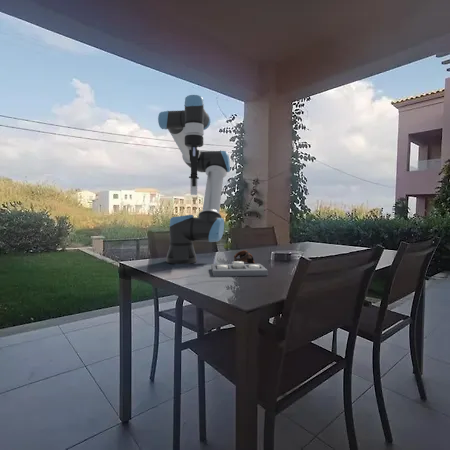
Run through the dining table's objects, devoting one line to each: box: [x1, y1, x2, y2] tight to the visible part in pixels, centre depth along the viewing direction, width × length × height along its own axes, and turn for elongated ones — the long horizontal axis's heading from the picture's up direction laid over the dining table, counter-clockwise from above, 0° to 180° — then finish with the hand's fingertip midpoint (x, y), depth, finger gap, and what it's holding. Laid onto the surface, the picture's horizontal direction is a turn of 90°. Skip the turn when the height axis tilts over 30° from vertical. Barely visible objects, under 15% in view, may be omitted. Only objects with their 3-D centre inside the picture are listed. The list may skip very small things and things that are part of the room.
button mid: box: [232, 261, 245, 269], centre depth 123 cm, size 4×4×2 cm
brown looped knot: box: [233, 249, 256, 264], centre depth 144 cm, size 12×10×8 cm
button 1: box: [217, 265, 228, 269], centre depth 122 cm, size 4×4×2 cm
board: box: [210, 263, 269, 277], centre depth 123 cm, size 14×21×3 cm, turn 96°
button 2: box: [249, 265, 260, 269], centre depth 124 cm, size 4×4×2 cm
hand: (193, 194), depth 123 cm, fingers closed
